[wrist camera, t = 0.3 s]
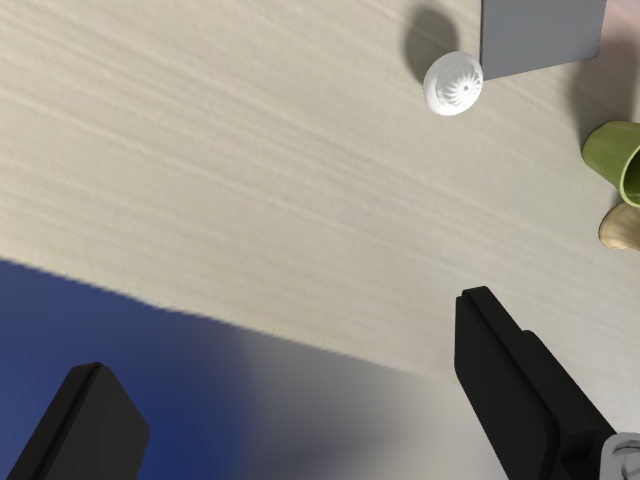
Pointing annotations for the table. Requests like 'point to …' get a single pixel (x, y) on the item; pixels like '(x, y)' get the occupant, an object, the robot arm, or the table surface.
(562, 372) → the robot arm
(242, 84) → the table surface
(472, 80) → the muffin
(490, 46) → the mat
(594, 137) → the plant pot
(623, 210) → the hand bell
